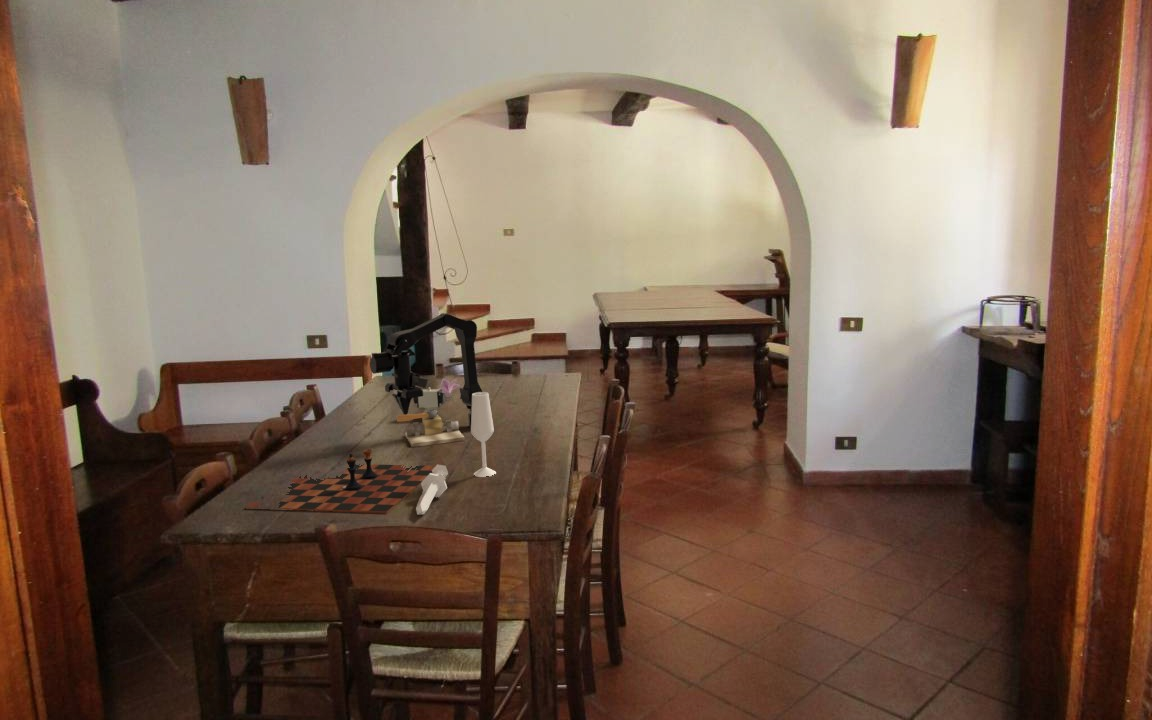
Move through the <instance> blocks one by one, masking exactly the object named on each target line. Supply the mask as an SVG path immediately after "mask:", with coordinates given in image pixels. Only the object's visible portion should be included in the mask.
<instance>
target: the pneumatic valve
mask: <svg viewBox="0 0 1152 720" xmlns="http://www.w3.org/2000/svg"><path fill="white" fill-rule="evenodd" d="M421 389H422V388H421ZM422 390H423V396H421V397H415V398H412V399H413V404H415V405H416V407H417V408H419V409H421V408H425V410H424V411H423V413H427V412H428V411H436V416H439V411H438V410H437V408H441V407H442V406H444V405H446V402H447V396H446V394H445V393H443V392H442V389H438V388H437V389H435V388H431V387H427V389H426V388H424V389H422ZM424 418H426V417H424Z"/></svg>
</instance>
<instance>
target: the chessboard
mask: <svg viewBox="0 0 1152 720" xmlns="http://www.w3.org/2000/svg"><path fill="white" fill-rule="evenodd" d="M362 451H363V455H364V456H365V457H364V458H363V460H364V462H365V463H366V464H365V463H362V464H363V465H361V466H359V465H360V463H358V464H359V465H356V464H357V463H356V462H357V460H356V459H355V457H353V454H352V453H349V455H348V458H347V460H346V464H348V465H349V467H350V468H347V469H344V471H347V472H345V473H343V474H342V475H341V476H340V477H338V476H336V478H329V477H328V478H324V480H320V479H317V478H316V480H317V481H316V480H314V479H312V478H311V477H310V480H309V479H308V478H307V475H306V476H305V477H304V479H302V478H301V476H300V477H299V478H298V479H294V478H292V479H291V480H292V482H295V483H292V484H290V485H291V486H292V487H288V488H289V489H291V490H287V491H290V492H286V493H289V494H286V495H289V496H290V497H288V498H285V499H289V501H287V502H285V499H283V500H281V501H280V503H279V504H280V505H279V507H278V508H283V509H293V510H313V511H312V512H314V511H316V510H317V511H333V512H332V513H345V512H360V513H359V514H377V513H379V514H381V515H382V514H383V515H387V514H388V513H389V512H391V511H392V510H393V509H394V508H395V507H396V506H397V505H398V504H400V503H401V502H402V501H403V500H404V499H405V498H406V497H408V496H409V495H410V494H411V493H412V492H413V491H414V490H415V489H417V488H418V487H419V486H420V485H421V482H422V481H423V480H424V479H425V478H426V477H427V476H428V475H429V474H430V473H432V470H433V469H434V468H435V466H436V465H428V464H427V465H421V464H419V465H420V466H416V467H415V468H412V469H411V470H410V471H409V472H407V471H408V470H409V469H410V468H411V467H412V466H411V467H410V468H406V469H405V467H406V466H405V467H404V468H403V466H404V465H405V464H375V463H374V464H373V463H372V459H373V456H371V455H372V452H373V449H369V448H368V449H364V450H362ZM365 465H367V466H365ZM402 465H403V466H402ZM401 466H402V467H401ZM416 468H417V469H416ZM404 469H405V470H404ZM415 469H416V470H415ZM414 470H415V472H414ZM416 487H417V488H416ZM408 494H409V495H408ZM255 501H256V500H254V501H253V502H251V503H249V504H247V505H246V506H245V507H257V508H258V505H259V502H257V503H255ZM260 505H263V503H262V504H260ZM261 508H262V507H261ZM379 514H378V515H379Z"/></svg>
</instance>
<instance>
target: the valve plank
mask: <svg viewBox="0 0 1152 720" xmlns="http://www.w3.org/2000/svg"><path fill="white" fill-rule="evenodd" d="M421 419H422V424H420V423H419V421H416V422H412V423H413V425H411V426H406V427H405V432H404V435H405V438H406V440H407V439H408V440H407V441H408V443H409V445H410V446H411V448H416V447H423V446H432V445H440V444H446V443H455V442H462V441H463V442H464V441H465V440H466V439H465V436H464V434H463V433H461V431H460V430H459V429H460V424H459V421H458V420H454V421H453V420H451V418H444V422H443V420H442V417H441V416H440V415H438V416H436V417H434V418H428V417H426V418H425V417H424V418H421Z"/></svg>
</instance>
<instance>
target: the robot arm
mask: <svg viewBox="0 0 1152 720" xmlns="http://www.w3.org/2000/svg"><path fill="white" fill-rule="evenodd" d="M444 327H448V328H450V329H452V330H454V333H455V337H456V339H457V340H458V342H459V345H460V350H461V352H460V353H461V358H462V359H461V360H462V370H463V371H462V372H463V378H464V384H463V387H460V388H459V394H460V397H459V399H460V400H461V402H462V403H463V404H464V405H465V406H466V409H468V410H469V413H468V414H467V416H468V417H467V418H468V419H467V420H468V426H470V427H471V413H472V394H473V393H478V392H483V390H482V387H481V386H480V384H479V381H478V380H479V379H478V370H477V362H476V361H477V360H476V353H475V352H476V351H475V341H476V340H477V337H478V335H477V334H478V333H477V332H478V326H477V323H476V322H475V321H474V320H471V319H464V318H459V317H457V316H454V315H452V314H450V313H444V312H442V313H440V314H439V315H438V316H434V318H433V317H432V318H431V319H429V320H427V321H425V322H423V323H420V324H419V325H417V326H415V327H413V328H409V329H405V330H401V331H396V332H393V333H392V334H391V335H390V336H389V341H388V343H387V345H386V347H385V348H384V350H383V352H372V353H371V357H370V361H369V368H370V371H371V373H372V374H373V375H375V374H382V373H388V372H391V371H392V370H393V372H391V377H393V380H394V381H393V382H387V383H386V384H385V386H384V390H385V393H390V392H391V391H393V394H391V395H392V397H393V399H394V400H395V402H396V403H397V405H398V406H399V408H400V410H401V413H402V415H403V414H404V415H406V414H409V410H410V405H411V400H412V399H413V398H415V397H421V396H423V390H422V388H424V389H426V388H427V386H428V383H429V382H428V381H429V379H428V378H424V377H421V375H420V374H419V373H414V372H413V371H412V369H411V357H414V356H417V355H416V353H415V352H414V351H413V350H412V349H411V348H412V347H413V346H414V345H415V344H416V343H417V342H419V341H420V340H421V339H423V338H425V337H427V336H429V335H431V334H433V333H434V332H435V333H436V332H438V330H441V329H443V328H444ZM491 406H492V405H491V404H490V407H491ZM491 408H492V407H491Z"/></svg>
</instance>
